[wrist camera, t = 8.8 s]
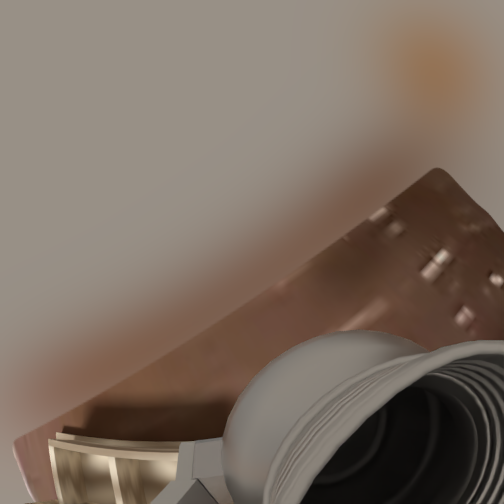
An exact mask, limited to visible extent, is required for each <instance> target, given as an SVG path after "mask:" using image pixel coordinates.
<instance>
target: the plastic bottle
mask: <svg viewBox="0 0 504 504" xmlns="http://www.w3.org/2000/svg"><path fill="white" fill-rule="evenodd" d="M221 463H222V469H223V474H224V480H225V483H226V486H227V489H228V491H229V493H230V495H231V498H232V500H233V502H234V504H428V503H430V502H431V501H432V502H431V504H504V341H503V340H478V341H468V342H463V343H459V344H455V345H450V346H445V347H441V348H439V349H437V350H435V351H432V352H429V351H428V350H427V349H425V348H423V347H421V346H420V345H418V344H416V343H414V342H412V341H411V340H409V339H405V338H402V337H399V336H396V335H392V334H389V333H384V332H379V331H369V330H349V331H337V332H333V333H329V334H325V335H322V336H318V337H314V338H312V339H310V340H307V341H305V342H303V343H301V344H299V345H296V346H294V347H292V348H290V349H289V350H287V351H286V352H284V353H283V354H281V355H280V356H278V357H277V358H275V359H274V360H272V361H271V362H270V363H269V364H268V365H267V366H265V367H264V368H263V369H262V370H261V371H260V372H259V373H258V374H257V375H256V376H255V377H253V379H252V380H251V381H250V383H249V384H248V385H247V387H246V388H245V389H244V390H243V392H242V393H241V394H240V396H239V397H238V399H237V401H236V403H235V405H234V407H233V409H232V411H231V413H230V415H229V417H228V419H227V423H226V427H225V430H224V434H223V437H222V449H221Z"/></svg>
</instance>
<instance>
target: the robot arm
mask: <svg viewBox="0 0 504 504" xmlns="http://www.w3.org/2000/svg"><path fill="white" fill-rule="evenodd" d="M221 449H222V437H220V438H213V439H205V440H196V441H189V442H181V444H180V446H179V453H178V461H177V470H176V479H175V481H171V482H170V483H169V484H168V485H167V486H166V487H165V488H164V489H163V490H162V491H161V492H160V493H159V494H158V496H157V497H156V498H155V499H154V500H153V501H152V502H151V503H150V504H228V503H234V502H233V500H232V498H231V495H230V493H229V491H228V489H227V486H226V483H225V480H224V474H223V469H222V463H221ZM431 502H432V501H431ZM431 502H430V503H428V504H431Z"/></svg>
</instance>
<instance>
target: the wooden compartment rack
mask: <svg viewBox="0 0 504 504" xmlns="http://www.w3.org/2000/svg"><path fill="white" fill-rule="evenodd" d="M181 442H189V441H179V442H153V441H128V440H114V439H103V438H94V437H86V436H79V435H72V434H66V433H58V432H56V439H48V444H49V452H50V459H51V466H52V472H53V478H54V483H55V488H56V493H57V497H58V499H56V500H50V501H43V502H36V503H27V504H150V503H151V502H152V501H153V500H154V499H155V498H156V497H157V496H158V494H159V493H160V492H161V491H162V490H163V489H164V488H165V487H166V486H167V485H168V484H169V483H170V482H171V481H175V479H176V470H177V461H178V453H179V446H180V444H181ZM228 504H234V503H228Z"/></svg>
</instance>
